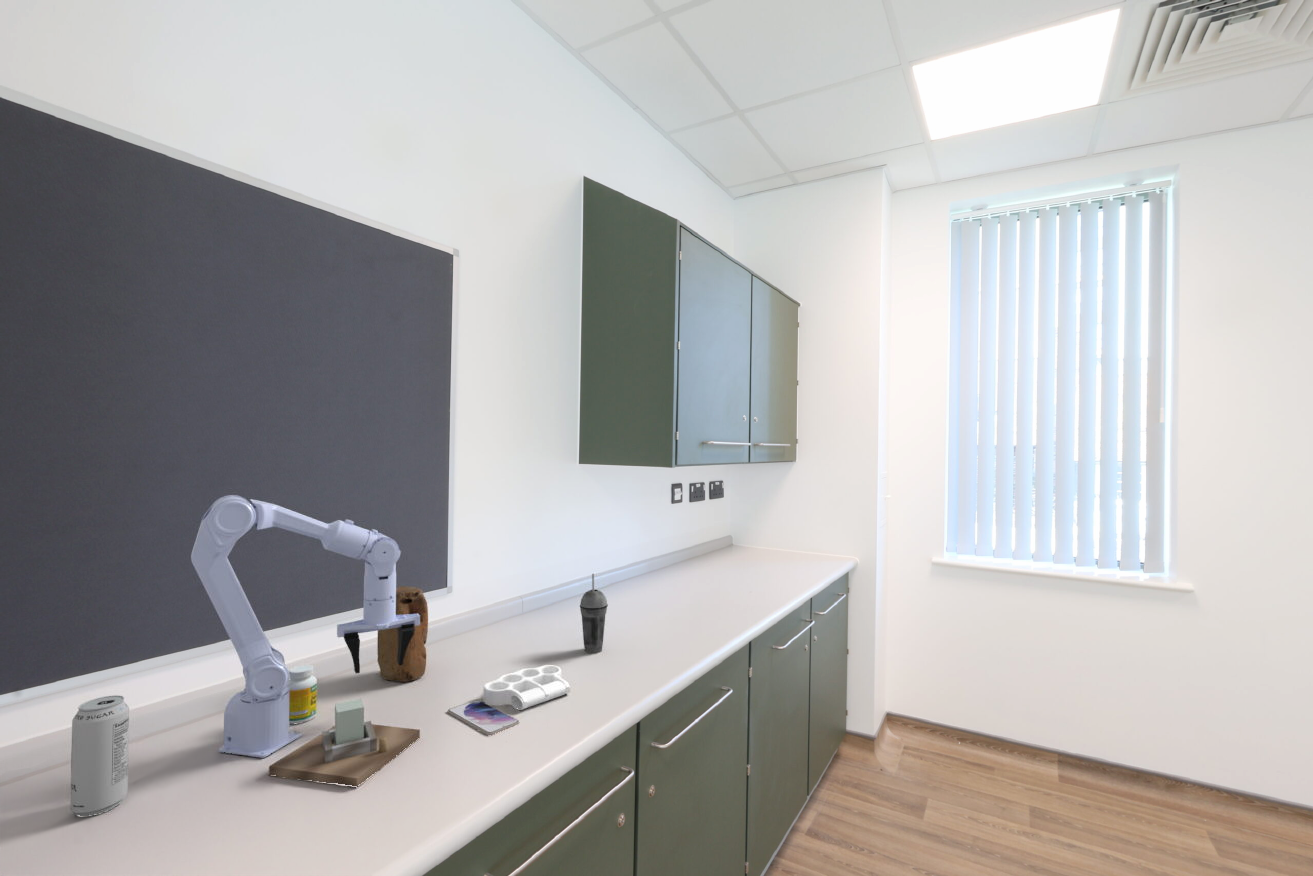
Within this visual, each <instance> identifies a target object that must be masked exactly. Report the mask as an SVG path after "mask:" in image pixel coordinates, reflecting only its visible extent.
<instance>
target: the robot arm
mask: <svg viewBox="0 0 1313 876" xmlns="http://www.w3.org/2000/svg"><path fill="white" fill-rule="evenodd" d="M249 500H250V501H251V502H250V501H249ZM249 500H247V499H246V498H244V497H243V496H240V495H236V494H231V495H224V496H222V497H219V498H218V499H216V500H215V501H214V502H213V503H212V504H211V505H210V507H209V508H208V509H207V511H206V512H205V513H204V514H203V516H202V519H201V522H200V524H199V528H198V532H197V535H196V537H195V540H194V544H193V548H192V551H191V555H190V561H191V564H192V565H193V567H194V570H195V572H196V573H197V575H198V577H199V579H200V581H201V584H202V585H203V587H204V589H205V591H206V594H207V595H208V597H209V600H210V601H211V603H212V605H213V608H214V609H215V611H216V613H217V615H218V617H219V619H220V621H221V623H222V625H223V627H224V629H225V631H226V633H227V635H228V637H229V639H230V642H231V643H232V645H233V647H234V650H235V651H236V654H237V656H238V659H239V661H240V663H241V666H242V674H243V676H244V679H245V680H244V681H245V684H244V685H245V686H244V689H243V690H241V691H239V692H237V693H235V694H234V695H233V696H232V697H231V698H229V701H228V702H227V704H226V706H225V708H224V713H223V746H221V747H220V748H218V752H219V753H224V752H225V754H231V753H232V754H233V755H240V756H246V755H247V757H255V758H261V759H262V758H267V757H268V756H270V755H271V753H272V754H273V753H275V752H277V751H278V750H280V749H281V748H283V747H285V746H286V745H288V744H290V743H292V742H293V741H295V740H296V739H298V738H300V737H301V736H302V734H301V733H300V732H295V731H294V732H293V731H290V724H289V698H290V690H289V689H290V686H289V685H288V682H289V680H290V674H289V670H290V669H288V667H287V666H286V664H285V663H286V662H285V658H284V656H283V653H282V652H280V651H279V650H278V649H276V648H274V647H273V646H272V644H271V643H270V642H269V639H268V637H267V636H266V633H265V631H264V630H263V628H262V626H261V624H260V622H259V620H258V618H257V615H256V614H255V611H254V610H253V608H252V605H251V603H250V601H249V599H248V597H247V594H246V592H245V591H244V589H243V587H242V585H241V582H240V580H239V579H238V577H237V574H236V573H235V570H234V569H233V566H232V564H231V563H230V560H229V558H228V556H229V555H230V554H231V552H232V550H233V548H234V546H235V545H236V544H237V541H238V540H240V538H241V537H243V536H244V535H245V534H246V533H247V532H248V531H250V530H251V529H252V527H253V526H254V528H255V529H256V531H260V530H265V529H270V528H279V529H283V530H286V531H289V532H293V533H296V534H299V535H303V536H306V537H311V538H314V539H317V540H320V542H321V544H322V547H323V549H324V550H327V551H330V552H334V553H336V554H339V555H343V556H346V557H350V558H352V559H356V560H364V561H365V562H364V575H363V612H362V613H363V617H362V618H363V619H359V620H354V621H351V622H345V623H341V624H339V623H338V624H337V625H336V637H337V638H343V639H344V642H345V645H346V646H347V648H348V650H349V651H350V652H349V653H350V655H351V658H352V661H353V671H354V672H355V674H360V673H361V671H360V670H361V666H360V645H361V644H360V643H361V640H360V635H359V634H363V633H369V632H371V633H372V632H376V631H377V632H378V630H384V629H391V628H398V655H397V662H398V664H399V665H403V661H404V657H405V653H406V650H407V647H408V645H409V642H410V640H411V638H412V637H413V635H414V632H415V628H414V626H418V625H420V615H419V614H418V613H417V614H406V615H396V588H397V571H396V570H397V569H396V568H397V567H396V566H397V564H396V563H397V562H398V561H399V559H400V557H401V553H402V551H401V550H400V546H399V544H398V543H397V541H396V540H395V539H392V538H391V537H389V536H387V535H385V534H383V533H380V532H378V530H377V529H374V528H372V529H371V530H369V529H366V528H363V527H361V526H359V525H355V524H354V523H355V522H354V521H353V520H351V519H345V520H344V521H343V520H340V519H338V520H335V521H332V522H330V523H326V522H324V521H321V520H318V519H315V518H313V517H310V516H307V515H304V514H302V513H299V512H297V511H293V509H292V510H291V509H288V508H285V507H283V506H282V505H281V506H280V505H278V504H275V503H271V502H267V501H261V500H258V499H251V498H250V499H249ZM251 503H252V504H251Z"/></svg>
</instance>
